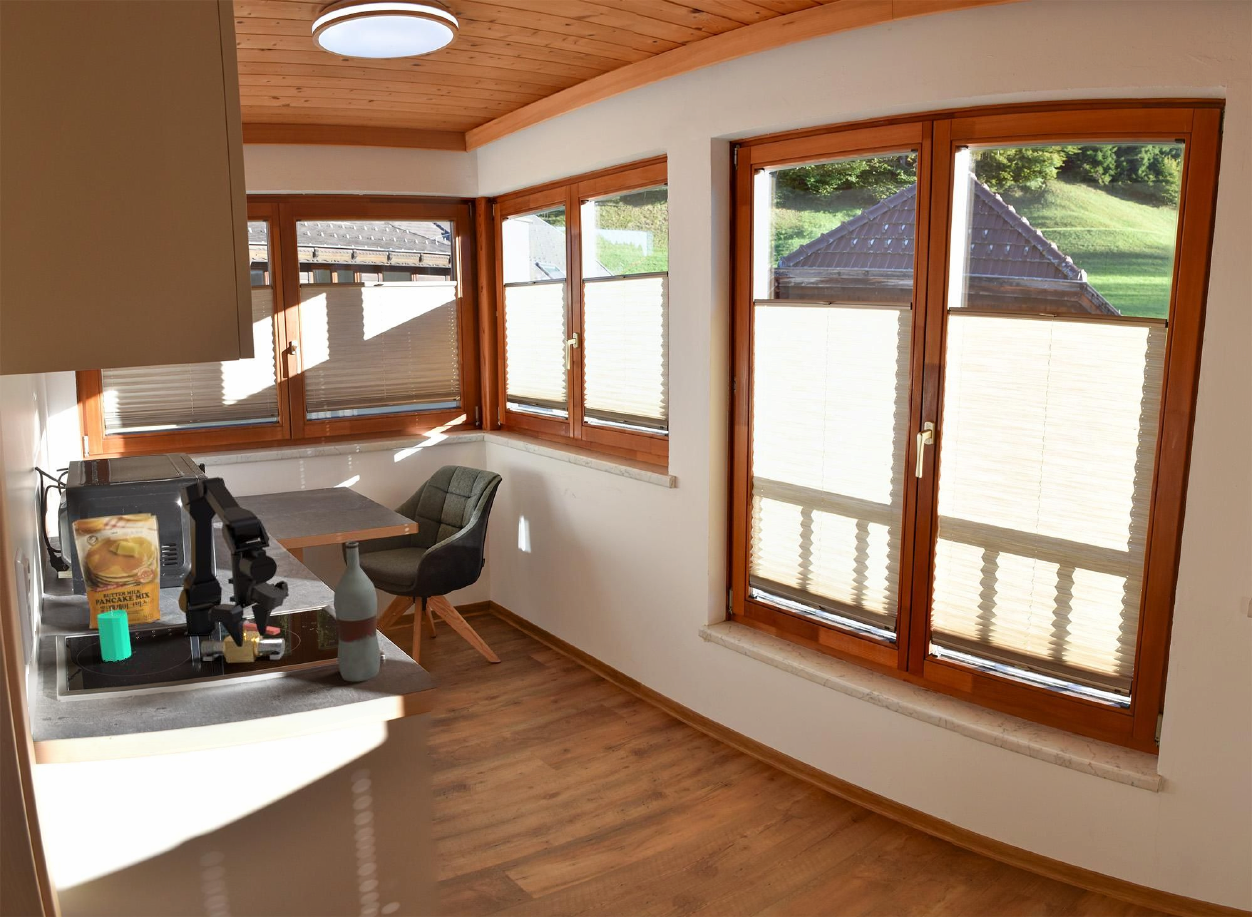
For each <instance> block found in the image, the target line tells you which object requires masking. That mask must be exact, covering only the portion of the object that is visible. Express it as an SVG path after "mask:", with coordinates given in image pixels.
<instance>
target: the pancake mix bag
mask: <svg viewBox="0 0 1252 917" xmlns="http://www.w3.org/2000/svg"><path fill="white" fill-rule="evenodd" d="M70 525H71V529H72V534H73V539H74V540H73V542H74V544H75V547H76V552H77V557H78V558H77V559H78V562H79V568H80V571H81V572H80V573H81V575H82V578H83V581H84V587H85V593H86V598H87V602H88V604H89V605H88V606H89V614H90V619H89V620H90V621H89V622H90V623H89V629H98V630H99V627H98V619H97V615H99V614H102V613H105V612H109V611H111V607H112V610H125V611H126V613H127V620H128V627H130V626H138V625H145V624H151V623H153V622H155V621H157V620H161V619H163V617H162V614H161V610H160V599H161V598H160V596H161V588H160V587H161V586H160V584H161V582H160V580H161V561H160V560H161V547H160V536H159V520H158V517H157V515H152V512H141V513H131V514H123V515H119V514H118V515H108V516H100V517H99V516H98V517H90V518H82V519H77V520H76V521H74V522H73V523H70Z"/></svg>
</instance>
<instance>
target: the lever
mask: <svg viewBox="0 0 1252 917" xmlns="http://www.w3.org/2000/svg"><path fill="white" fill-rule="evenodd" d="M243 629H246V631H256V632H258V629H257V626H256V623H253V622H249V620H248V619H247V620H246V621H245V622H244V623H243ZM279 633H281V629H280V627H274V626H268V625H267V628H266V632H265V634H267V635H271V636H274V635H277V634H279Z"/></svg>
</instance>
